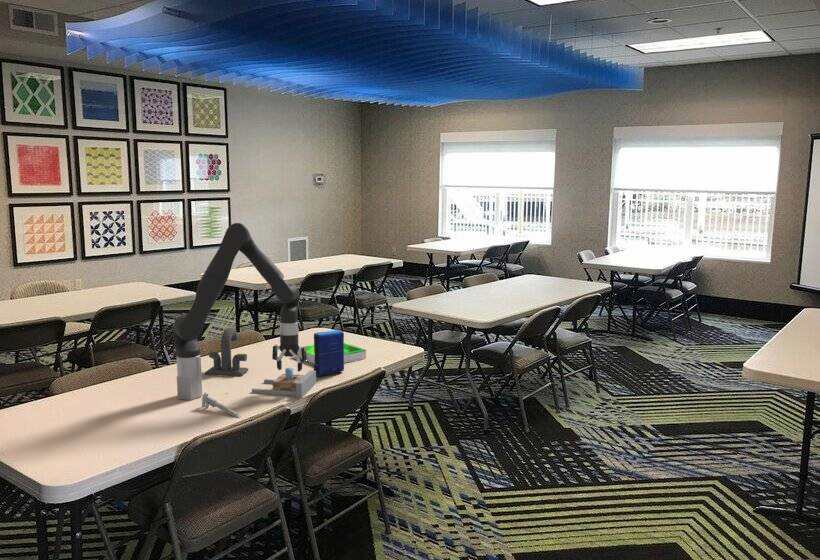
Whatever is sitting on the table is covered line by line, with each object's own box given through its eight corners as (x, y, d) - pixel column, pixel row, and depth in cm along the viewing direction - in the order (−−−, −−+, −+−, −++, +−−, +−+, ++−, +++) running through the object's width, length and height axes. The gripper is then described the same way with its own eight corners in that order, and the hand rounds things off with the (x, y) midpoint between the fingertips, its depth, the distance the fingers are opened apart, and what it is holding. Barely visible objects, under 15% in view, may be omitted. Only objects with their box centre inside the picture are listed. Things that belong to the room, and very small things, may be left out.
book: (317, 378, 287) (316, 334, 284) (311, 375, 291) (311, 332, 288) (345, 372, 295) (344, 330, 292) (339, 369, 299) (339, 328, 296)
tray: (295, 358, 321) (295, 348, 320) (336, 349, 337) (336, 340, 336) (324, 369, 302) (324, 358, 301) (366, 359, 319) (366, 349, 318)
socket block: (298, 393, 265) (298, 383, 264) (273, 392, 267) (272, 381, 266) (307, 385, 276) (307, 375, 275) (282, 383, 278) (282, 373, 277)
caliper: (201, 407, 250) (201, 392, 249) (204, 407, 251) (203, 391, 250) (238, 418, 239) (238, 402, 238) (241, 417, 240) (240, 401, 239)
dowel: (292, 390, 270) (291, 370, 268) (284, 390, 270) (284, 369, 269) (294, 388, 273) (294, 367, 271) (287, 387, 273) (287, 367, 272)
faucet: (254, 366, 304) (253, 325, 301) (243, 376, 288) (241, 333, 285) (217, 365, 306) (216, 323, 303) (204, 375, 290) (202, 331, 287)
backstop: (301, 397, 261) (301, 383, 260) (249, 394, 265) (249, 380, 264) (316, 384, 279) (315, 370, 278) (266, 380, 282) (266, 367, 282)
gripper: (269, 333, 265) (270, 371, 267) (302, 335, 262) (302, 374, 265) (276, 329, 272) (277, 366, 275) (308, 331, 270) (308, 368, 272)
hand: (289, 370), depth 270 cm, fingers open, 8 cm apart
